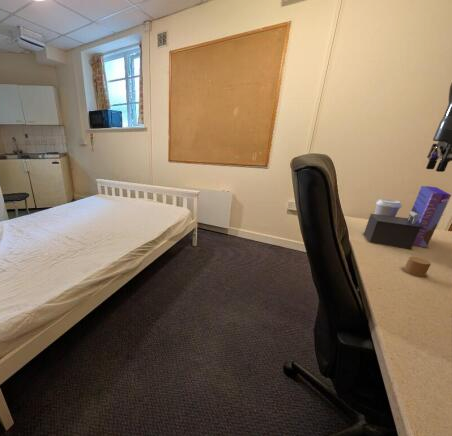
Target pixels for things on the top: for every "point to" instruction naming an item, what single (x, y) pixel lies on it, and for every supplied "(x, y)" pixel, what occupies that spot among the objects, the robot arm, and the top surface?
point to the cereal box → (429, 212)
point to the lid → (398, 220)
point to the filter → (417, 266)
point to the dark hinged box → (390, 234)
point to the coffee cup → (387, 207)
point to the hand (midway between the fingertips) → (434, 170)
